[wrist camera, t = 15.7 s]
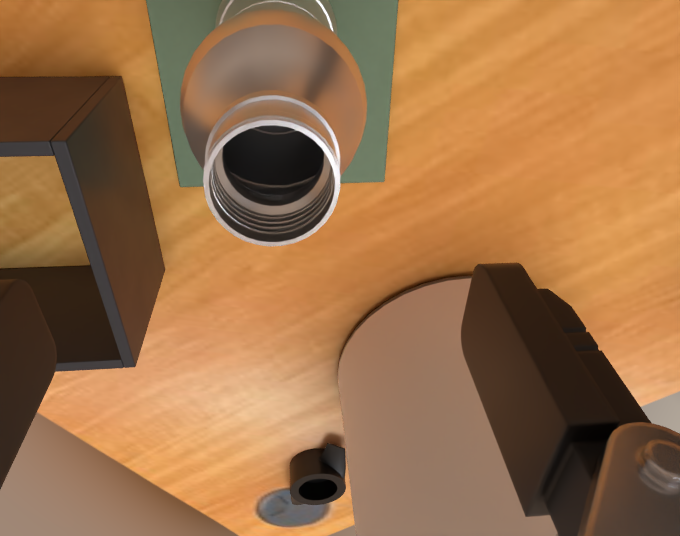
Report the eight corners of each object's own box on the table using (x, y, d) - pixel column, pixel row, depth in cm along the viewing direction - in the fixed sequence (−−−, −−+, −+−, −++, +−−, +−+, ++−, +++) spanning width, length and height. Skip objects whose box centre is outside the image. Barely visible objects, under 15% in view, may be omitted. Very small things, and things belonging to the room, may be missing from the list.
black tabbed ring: (373, 462, 57) (377, 487, 54) (299, 496, 59) (300, 521, 57) (335, 429, 53) (337, 454, 50) (257, 466, 55) (256, 492, 53)
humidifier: (290, 335, 44) (296, 660, 26) (520, 225, 40) (735, 521, 21) (394, 455, 56) (452, 737, 37) (581, 381, 52) (753, 659, 33)
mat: (109, -214, 23) (106, -216, 23) (412, -202, 25) (414, -203, 24) (181, 183, 35) (179, 187, 35) (383, 179, 36) (384, 182, 36)
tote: (-119, 77, 30) (-268, 146, 22) (122, 75, 31) (65, 141, 23) (-21, 277, 38) (-101, 380, 30) (165, 270, 39) (135, 367, 31)
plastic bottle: (210, 69, 31) (131, 266, 14) (232, -59, 27) (159, 12, 11) (315, 99, 32) (348, 307, 16) (348, -18, 28) (436, 98, 12)
